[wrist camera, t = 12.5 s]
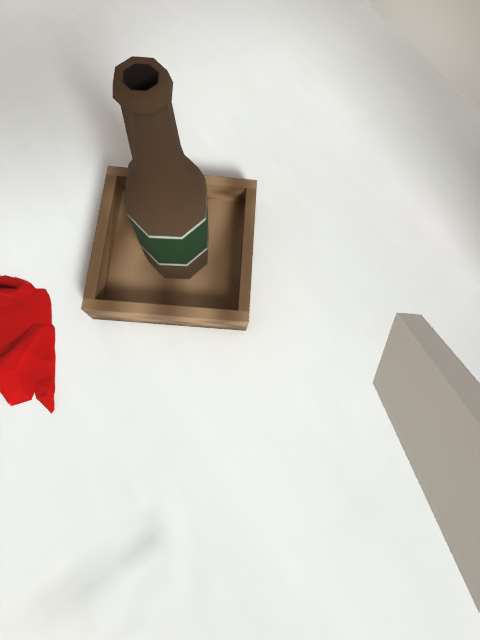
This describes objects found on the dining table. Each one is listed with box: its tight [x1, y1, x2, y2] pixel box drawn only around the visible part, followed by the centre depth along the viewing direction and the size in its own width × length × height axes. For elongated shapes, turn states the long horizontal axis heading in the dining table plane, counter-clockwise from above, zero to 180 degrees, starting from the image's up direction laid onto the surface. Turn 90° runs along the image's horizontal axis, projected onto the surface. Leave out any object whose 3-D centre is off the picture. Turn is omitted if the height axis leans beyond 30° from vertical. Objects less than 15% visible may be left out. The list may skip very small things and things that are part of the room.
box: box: [81, 166, 257, 331], centre depth 44 cm, size 18×18×4 cm
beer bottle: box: [113, 56, 209, 279], centre depth 33 cm, size 8×8×24 cm
